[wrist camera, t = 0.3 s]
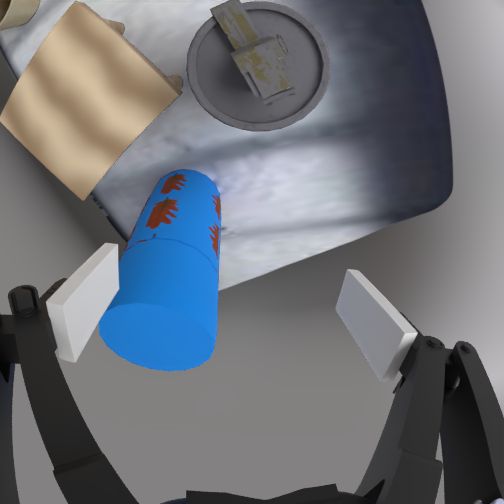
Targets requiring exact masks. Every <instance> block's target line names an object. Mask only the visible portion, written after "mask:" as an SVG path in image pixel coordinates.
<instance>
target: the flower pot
mask: <svg viewBox="0 0 504 504" xmlns="http://www.w3.org/2000/svg"><path fill="white" fill-rule="evenodd" d="M39 2H40V0H0V30H4V29H7V28H11V27H15V26H20V25H23V24H25V23H27V22H28V21H29V20H30V18H31V17H32V16H33V15H34V14H35V13H36V11H37V9H38V6H39Z"/></svg>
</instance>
